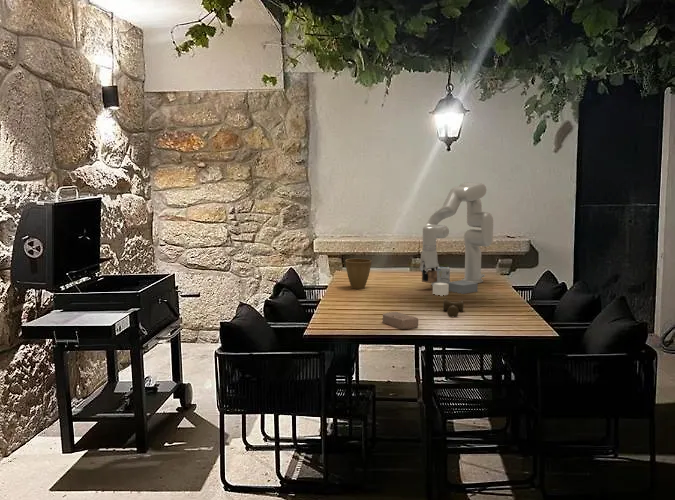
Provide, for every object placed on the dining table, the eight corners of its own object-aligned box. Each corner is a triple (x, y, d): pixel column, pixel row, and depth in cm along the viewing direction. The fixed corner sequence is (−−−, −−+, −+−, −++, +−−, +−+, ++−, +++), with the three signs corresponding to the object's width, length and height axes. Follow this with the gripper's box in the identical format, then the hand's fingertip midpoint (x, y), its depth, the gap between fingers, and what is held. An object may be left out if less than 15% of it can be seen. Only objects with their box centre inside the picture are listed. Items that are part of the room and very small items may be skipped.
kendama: (441, 317, 297) (443, 307, 316) (463, 319, 295) (463, 309, 315) (442, 305, 296) (444, 295, 315) (463, 306, 294) (464, 297, 314)
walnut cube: (428, 280, 368) (428, 269, 367) (437, 281, 363) (437, 271, 362) (421, 281, 364) (421, 271, 363) (429, 283, 359) (429, 272, 358)
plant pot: (341, 289, 364) (341, 261, 362) (350, 284, 377) (350, 257, 375) (366, 291, 358) (366, 262, 356) (374, 286, 372) (375, 259, 370)
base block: (461, 288, 368) (461, 280, 367) (477, 292, 358) (477, 283, 357) (446, 291, 361) (446, 282, 360) (462, 294, 351) (462, 285, 350)
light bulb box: (449, 284, 379) (449, 266, 378) (449, 286, 372) (450, 268, 371) (430, 284, 380) (431, 266, 379) (431, 286, 373) (431, 268, 372)
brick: (381, 322, 286) (381, 312, 286) (396, 320, 290) (396, 310, 290) (403, 331, 272) (403, 320, 271) (419, 328, 276) (419, 317, 276)
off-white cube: (439, 293, 353) (440, 282, 352) (448, 294, 349) (448, 283, 348) (432, 294, 349) (432, 283, 349) (441, 296, 345) (441, 285, 344)
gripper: (434, 246, 369) (434, 276, 372) (413, 249, 358) (414, 281, 361) (444, 247, 363) (444, 278, 366) (424, 250, 352) (424, 282, 355)
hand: (429, 279), depth 363 cm, fingers closed on walnut cube, 6 cm apart
